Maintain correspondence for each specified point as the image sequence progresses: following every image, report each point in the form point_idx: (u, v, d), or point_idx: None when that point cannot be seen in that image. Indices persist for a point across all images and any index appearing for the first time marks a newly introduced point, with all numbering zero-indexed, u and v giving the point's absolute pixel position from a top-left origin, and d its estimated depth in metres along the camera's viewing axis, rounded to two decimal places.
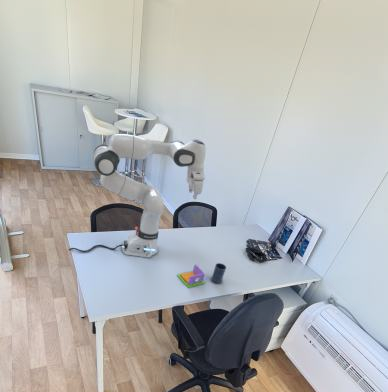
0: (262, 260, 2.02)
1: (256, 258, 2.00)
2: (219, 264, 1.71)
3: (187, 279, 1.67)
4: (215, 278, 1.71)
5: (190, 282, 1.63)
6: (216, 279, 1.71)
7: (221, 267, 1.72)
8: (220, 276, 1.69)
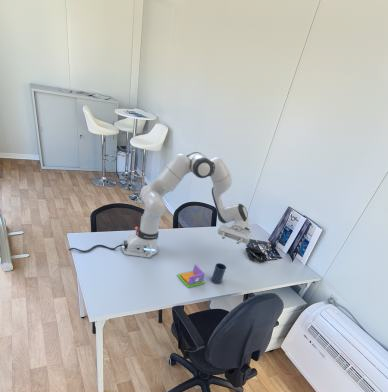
0: (262, 260, 2.02)
1: (256, 258, 2.00)
2: (219, 264, 1.71)
3: (187, 279, 1.67)
4: (215, 278, 1.71)
5: (190, 282, 1.63)
6: (216, 279, 1.71)
7: (221, 267, 1.72)
8: (220, 276, 1.69)
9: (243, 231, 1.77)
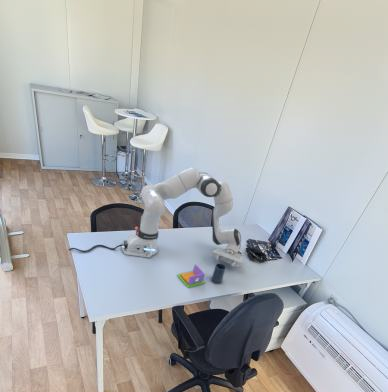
0: (262, 260, 2.02)
1: (256, 258, 2.00)
2: (219, 264, 1.71)
3: (187, 279, 1.67)
4: (215, 278, 1.71)
5: (190, 282, 1.63)
6: (216, 279, 1.71)
7: (221, 267, 1.72)
8: (220, 276, 1.69)
9: (236, 255, 1.85)
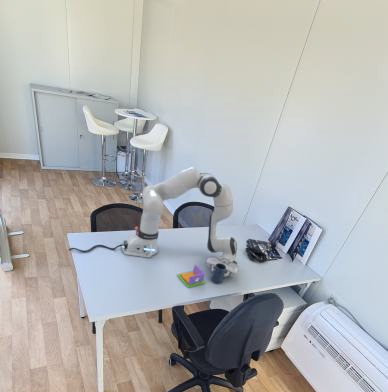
0: (262, 260, 2.02)
1: (256, 258, 2.00)
2: (219, 264, 1.71)
3: (187, 279, 1.67)
4: (215, 278, 1.71)
5: (190, 282, 1.63)
6: (216, 279, 1.71)
7: (221, 267, 1.72)
8: (220, 276, 1.69)
9: (231, 264, 1.77)
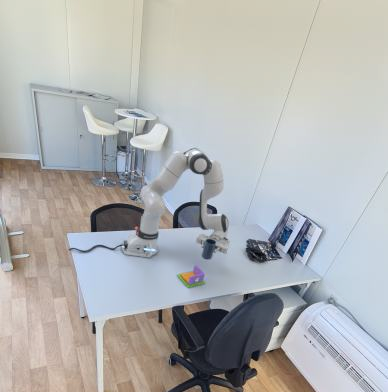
0: (262, 260, 2.02)
1: (256, 258, 2.00)
2: (209, 240, 1.69)
3: (187, 279, 1.67)
4: (205, 254, 1.69)
5: (190, 282, 1.63)
6: (206, 255, 1.69)
7: (211, 243, 1.70)
8: (210, 251, 1.67)
9: (221, 241, 1.75)
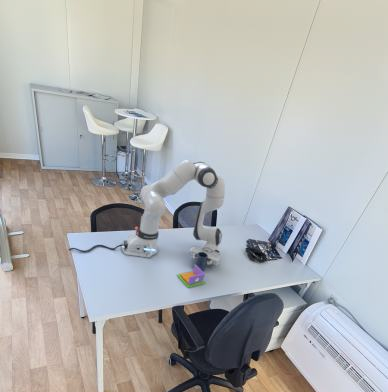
0: (262, 260, 2.02)
1: (256, 258, 2.00)
2: (201, 253, 1.77)
3: (187, 279, 1.67)
4: None
5: (190, 282, 1.63)
6: None
7: (203, 256, 1.78)
8: (202, 264, 1.75)
9: (213, 253, 1.83)
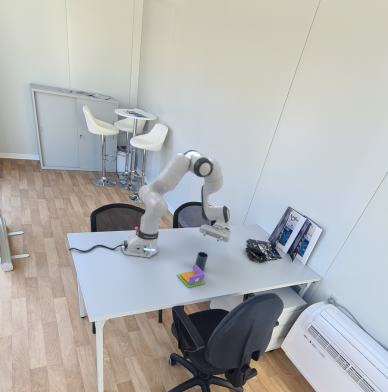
0: (262, 260, 2.02)
1: (256, 258, 2.00)
2: (201, 253, 1.77)
3: (187, 279, 1.67)
4: None
5: (190, 282, 1.63)
6: None
7: (203, 256, 1.78)
8: (202, 264, 1.75)
9: (223, 230, 1.86)
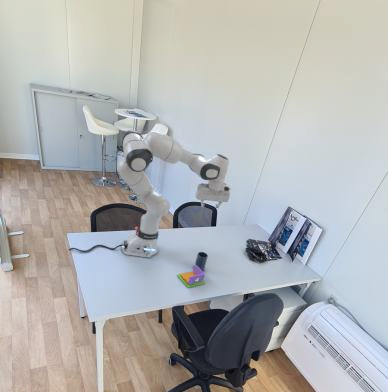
0: (262, 260, 2.02)
1: (256, 258, 2.00)
2: (201, 253, 1.77)
3: (187, 279, 1.67)
4: None
5: (190, 282, 1.63)
6: None
7: (203, 256, 1.78)
8: (202, 264, 1.75)
9: (222, 192, 1.67)
